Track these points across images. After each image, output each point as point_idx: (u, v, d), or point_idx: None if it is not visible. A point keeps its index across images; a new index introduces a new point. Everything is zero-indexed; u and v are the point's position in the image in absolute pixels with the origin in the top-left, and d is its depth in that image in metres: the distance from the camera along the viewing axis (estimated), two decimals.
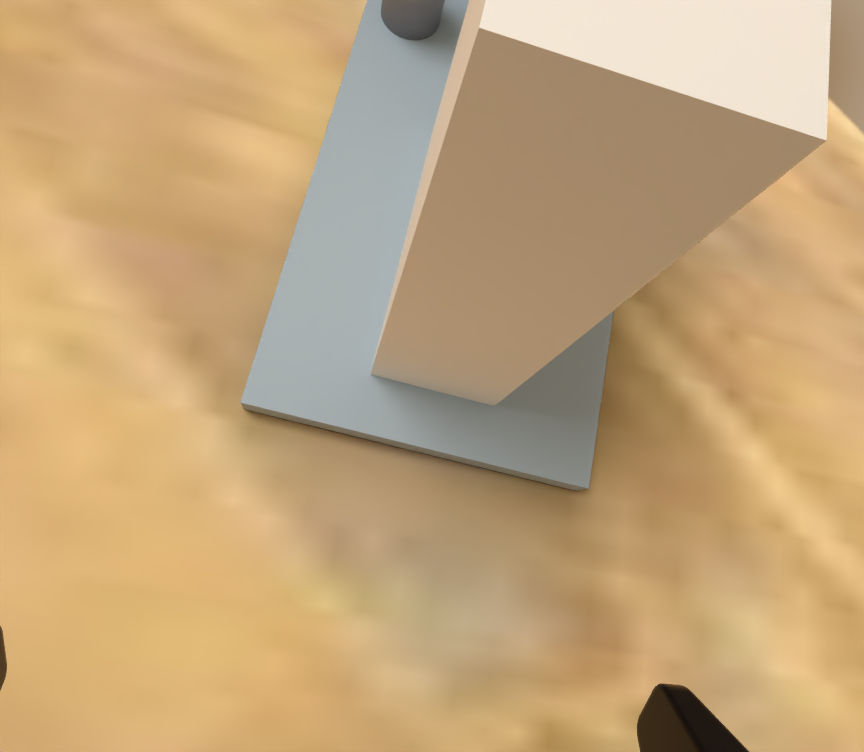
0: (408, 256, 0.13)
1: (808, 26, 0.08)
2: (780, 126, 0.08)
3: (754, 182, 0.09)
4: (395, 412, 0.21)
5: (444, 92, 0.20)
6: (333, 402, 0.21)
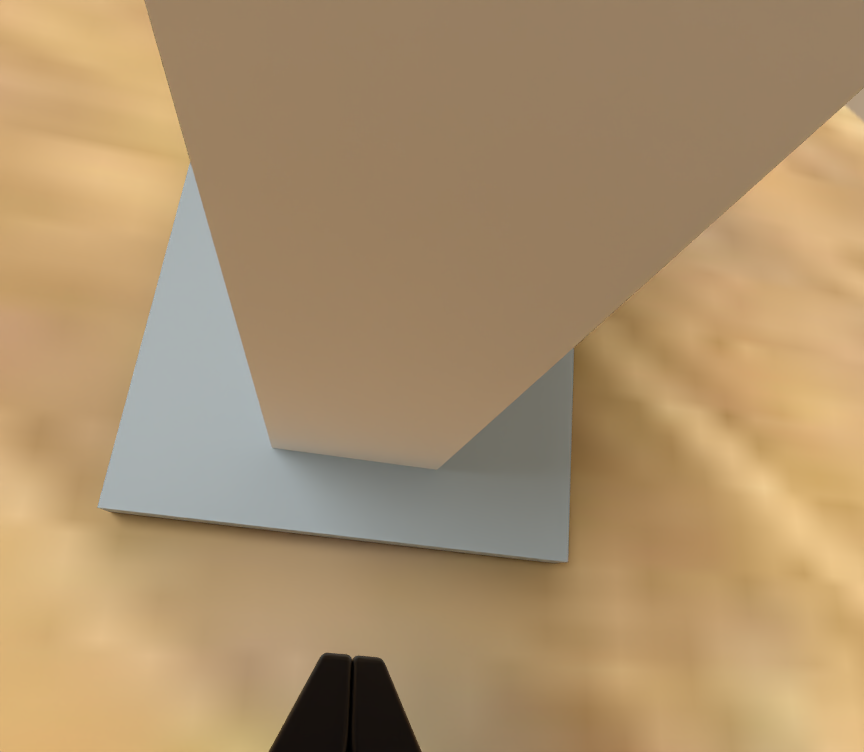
0: (232, 304, 0.08)
1: None
2: None
3: (813, 100, 0.04)
4: (308, 494, 0.16)
5: None
6: (225, 491, 0.16)
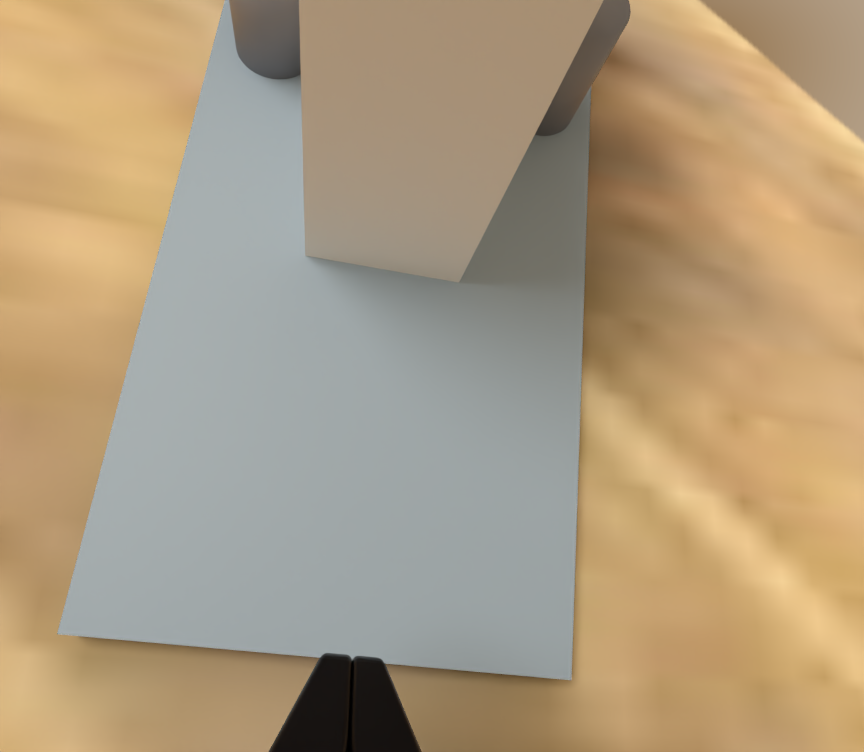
0: None
1: None
2: None
3: None
4: (289, 611, 0.15)
5: None
6: (197, 611, 0.15)
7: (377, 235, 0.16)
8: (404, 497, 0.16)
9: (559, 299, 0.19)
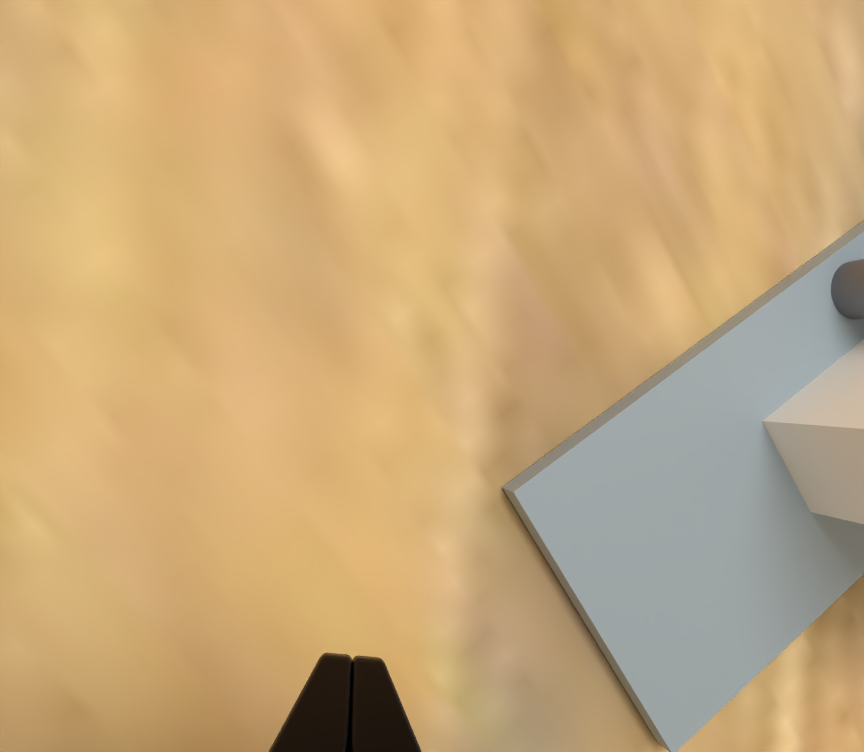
0: None
1: None
2: None
3: None
4: (601, 588, 0.23)
5: None
6: (569, 545, 0.23)
7: (822, 465, 0.23)
8: (690, 590, 0.24)
9: (842, 571, 0.26)
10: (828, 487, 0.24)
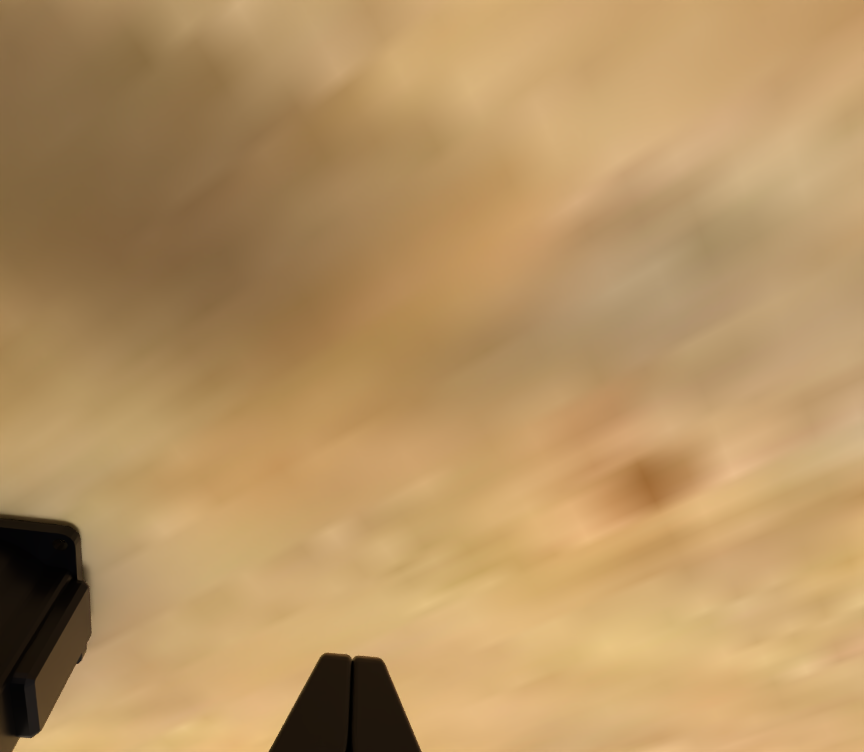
0: None
1: None
2: None
3: None
4: None
5: None
6: None
7: None
8: None
9: None
10: None
